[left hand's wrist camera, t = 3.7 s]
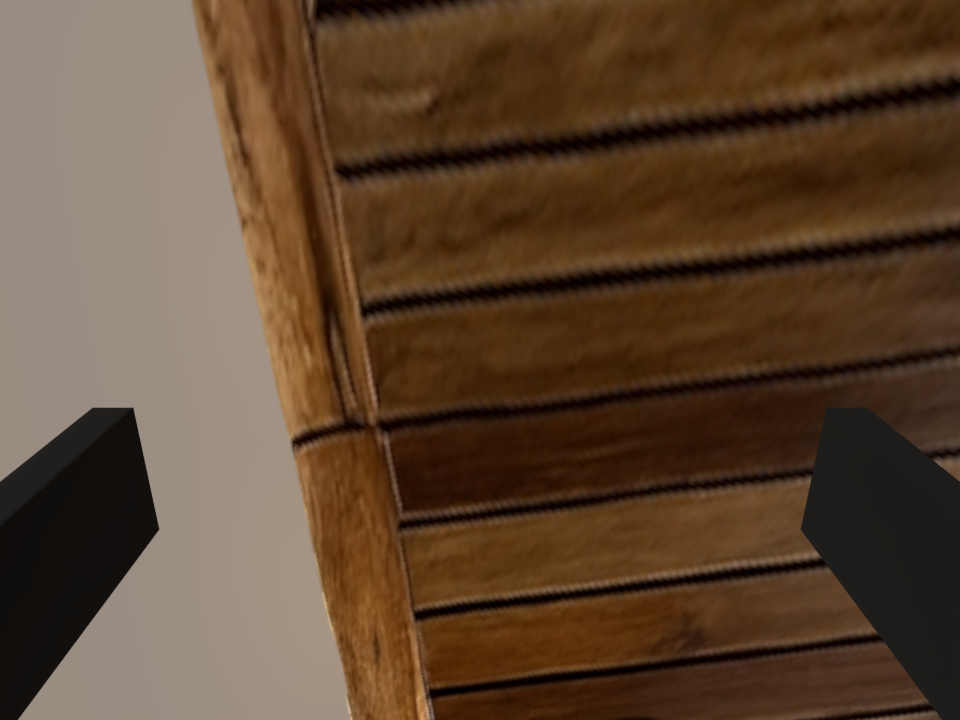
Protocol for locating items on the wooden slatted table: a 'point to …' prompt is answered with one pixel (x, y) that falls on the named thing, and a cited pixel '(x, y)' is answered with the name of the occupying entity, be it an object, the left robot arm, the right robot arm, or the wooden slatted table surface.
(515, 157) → the wooden slatted table surface
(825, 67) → the wooden slatted table surface
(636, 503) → the wooden slatted table surface
